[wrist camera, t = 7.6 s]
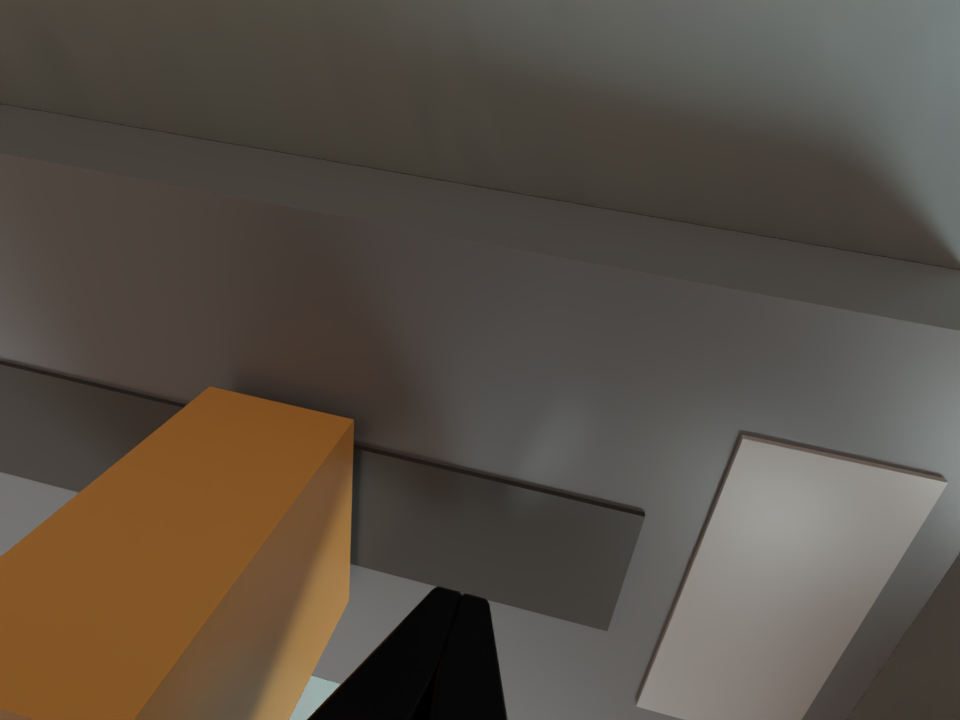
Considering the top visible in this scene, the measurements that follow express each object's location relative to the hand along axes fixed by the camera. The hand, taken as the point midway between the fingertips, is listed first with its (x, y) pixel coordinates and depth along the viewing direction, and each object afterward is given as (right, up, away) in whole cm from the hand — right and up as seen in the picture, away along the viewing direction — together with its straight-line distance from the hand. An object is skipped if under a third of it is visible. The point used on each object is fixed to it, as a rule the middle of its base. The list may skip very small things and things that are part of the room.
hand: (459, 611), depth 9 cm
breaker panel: (-4, +3, +5) cm, 7 cm away
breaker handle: (-3, +1, +2) cm, 4 cm away
